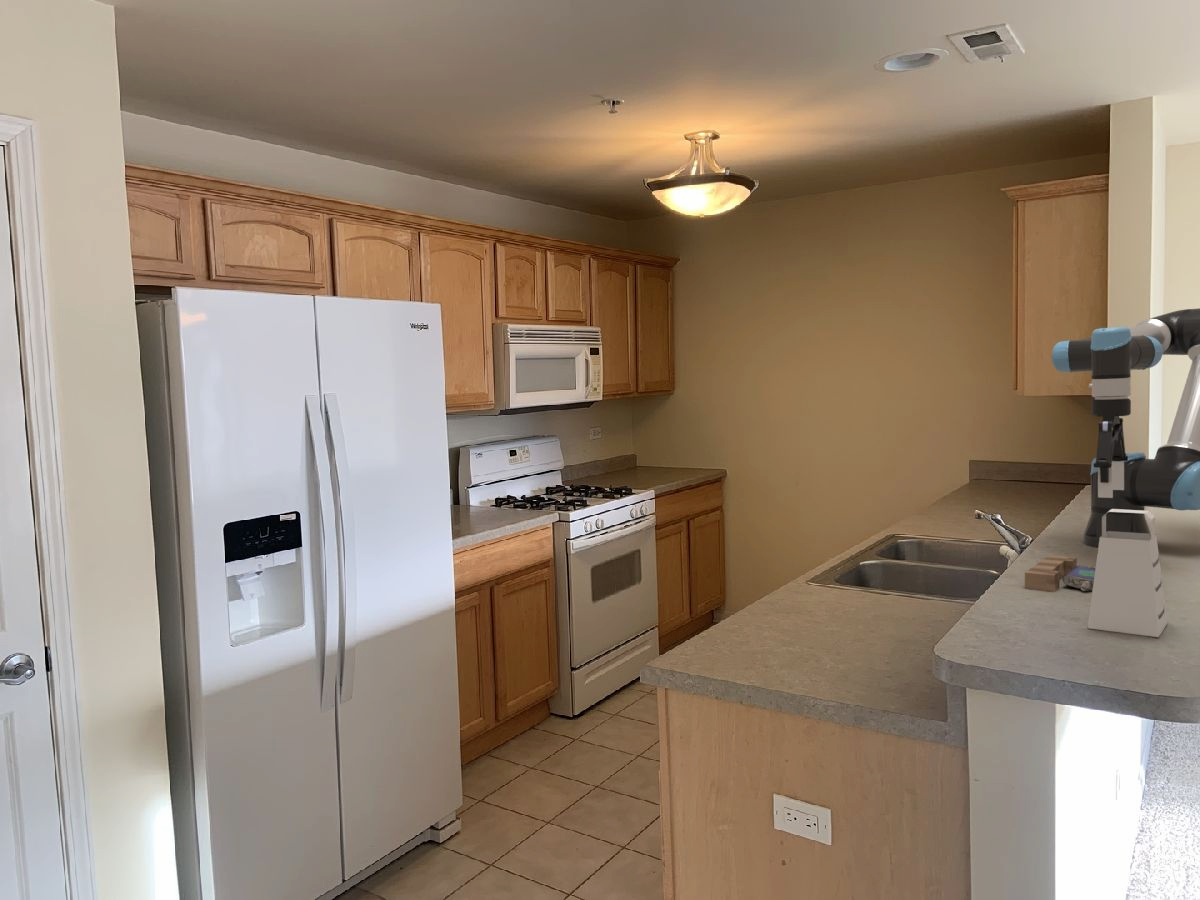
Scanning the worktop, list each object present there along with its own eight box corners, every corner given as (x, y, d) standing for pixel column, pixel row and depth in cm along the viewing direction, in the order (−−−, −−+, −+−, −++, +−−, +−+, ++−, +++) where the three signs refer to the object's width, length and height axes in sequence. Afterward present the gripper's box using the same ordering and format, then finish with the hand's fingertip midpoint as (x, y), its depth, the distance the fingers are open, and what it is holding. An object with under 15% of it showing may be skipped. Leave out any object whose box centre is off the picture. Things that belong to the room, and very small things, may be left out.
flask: (1123, 569, 182) (1109, 582, 174) (1123, 583, 182) (1109, 596, 174) (1074, 563, 188) (1058, 575, 180) (1074, 577, 188) (1058, 589, 181)
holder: (1049, 570, 199) (1049, 555, 198) (1159, 581, 185) (1159, 564, 185) (1024, 589, 182) (1024, 572, 182) (1143, 602, 169) (1143, 583, 169)
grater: (1099, 614, 161) (1099, 505, 160) (1167, 622, 155) (1168, 509, 153) (1087, 628, 153) (1087, 513, 152) (1158, 637, 147) (1159, 517, 145)
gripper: (1102, 396, 208) (1103, 486, 209) (1079, 401, 189) (1080, 500, 190) (1140, 395, 203) (1140, 487, 205) (1120, 400, 184) (1120, 501, 185)
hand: (1111, 493), depth 197 cm, fingers open, 13 cm apart
